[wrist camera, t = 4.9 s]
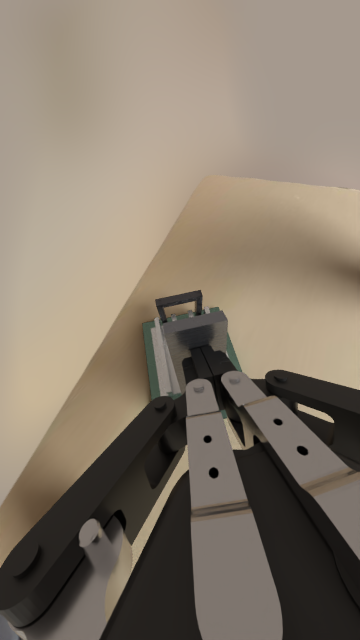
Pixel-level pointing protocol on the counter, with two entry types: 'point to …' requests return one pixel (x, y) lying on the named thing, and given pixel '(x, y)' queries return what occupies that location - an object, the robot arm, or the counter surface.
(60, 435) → the counter surface
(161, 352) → the heatsink
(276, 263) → the counter surface
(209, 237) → the counter surface
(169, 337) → the retention strap
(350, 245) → the counter surface
